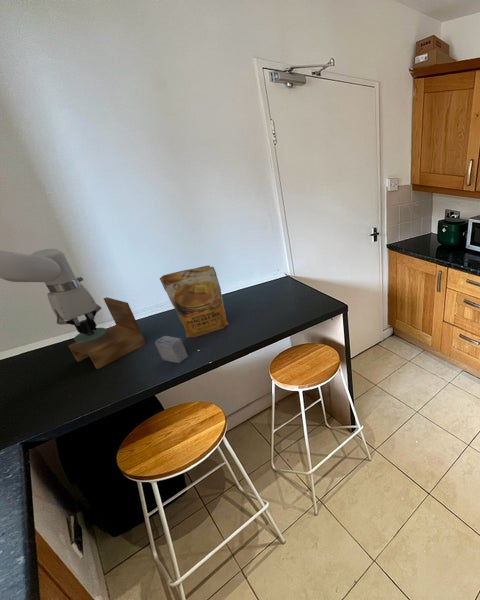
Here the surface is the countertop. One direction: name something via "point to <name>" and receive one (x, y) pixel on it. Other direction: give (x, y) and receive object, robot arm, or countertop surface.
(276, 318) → the countertop surface
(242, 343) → the countertop surface
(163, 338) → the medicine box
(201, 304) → the pancake mix bag
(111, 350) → the wooden bookend
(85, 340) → the lid
